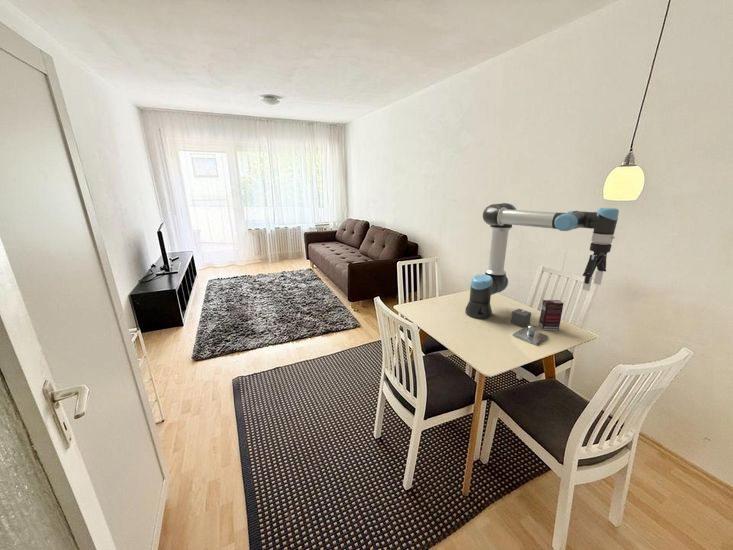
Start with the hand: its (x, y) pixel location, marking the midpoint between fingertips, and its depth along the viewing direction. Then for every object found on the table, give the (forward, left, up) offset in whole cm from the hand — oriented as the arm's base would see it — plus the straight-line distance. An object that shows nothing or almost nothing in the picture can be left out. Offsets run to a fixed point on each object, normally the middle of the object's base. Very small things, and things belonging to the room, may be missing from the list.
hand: (591, 286), depth 140 cm
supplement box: (-15, 0, -28) cm, 32 cm away
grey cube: (-27, -6, -28) cm, 40 cm away
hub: (-16, -17, -28) cm, 37 cm away
